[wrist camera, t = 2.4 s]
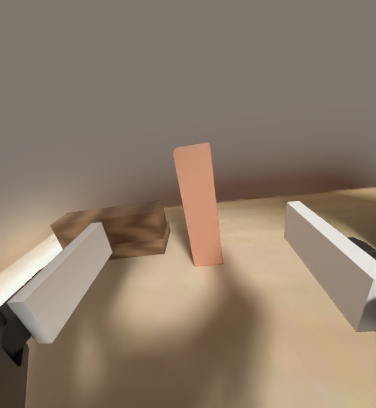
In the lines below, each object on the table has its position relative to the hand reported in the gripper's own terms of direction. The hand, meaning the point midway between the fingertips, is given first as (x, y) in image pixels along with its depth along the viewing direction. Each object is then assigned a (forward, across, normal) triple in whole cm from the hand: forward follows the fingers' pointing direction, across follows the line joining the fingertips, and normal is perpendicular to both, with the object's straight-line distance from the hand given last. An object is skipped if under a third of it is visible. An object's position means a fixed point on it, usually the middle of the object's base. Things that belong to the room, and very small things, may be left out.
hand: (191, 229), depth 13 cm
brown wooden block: (+16, -16, -12) cm, 25 cm away
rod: (+11, 0, -12) cm, 16 cm away
